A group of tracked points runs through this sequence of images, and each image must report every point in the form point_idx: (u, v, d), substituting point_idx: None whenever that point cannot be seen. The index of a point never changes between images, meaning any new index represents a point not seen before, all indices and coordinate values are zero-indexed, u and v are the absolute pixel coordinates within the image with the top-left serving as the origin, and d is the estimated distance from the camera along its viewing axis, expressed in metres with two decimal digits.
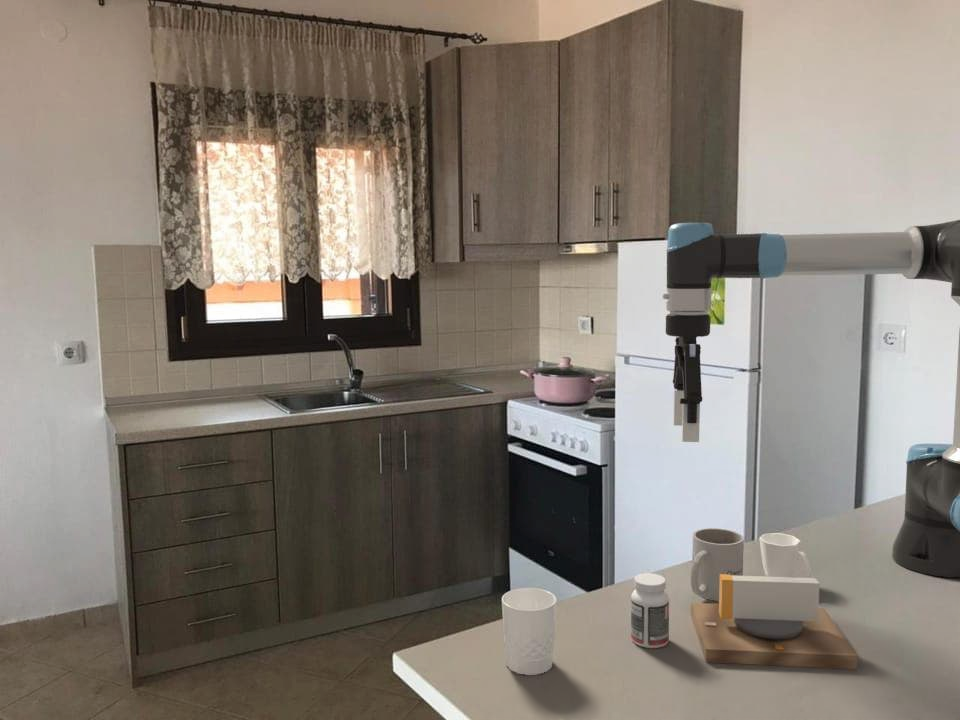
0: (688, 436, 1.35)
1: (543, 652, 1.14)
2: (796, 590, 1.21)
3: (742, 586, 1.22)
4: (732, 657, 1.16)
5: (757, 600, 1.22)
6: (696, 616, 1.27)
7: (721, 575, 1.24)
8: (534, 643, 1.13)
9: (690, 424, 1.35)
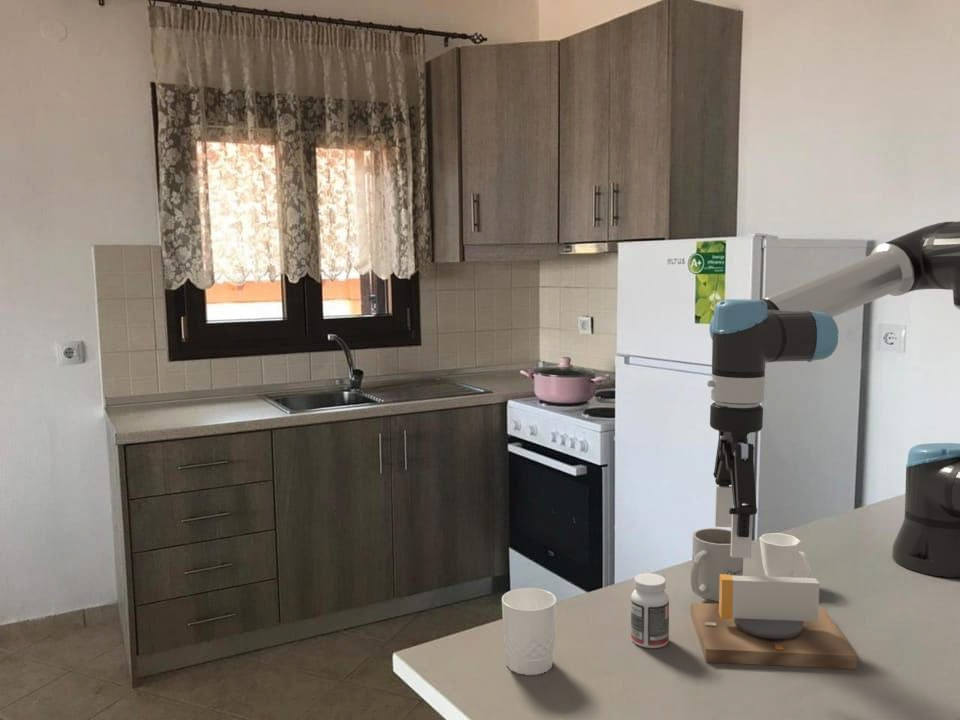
0: (738, 551, 1.15)
1: (543, 652, 1.14)
2: (796, 590, 1.21)
3: (742, 586, 1.22)
4: (732, 657, 1.16)
5: (757, 600, 1.22)
6: (696, 616, 1.27)
7: (721, 575, 1.24)
8: (534, 643, 1.13)
9: (741, 537, 1.15)
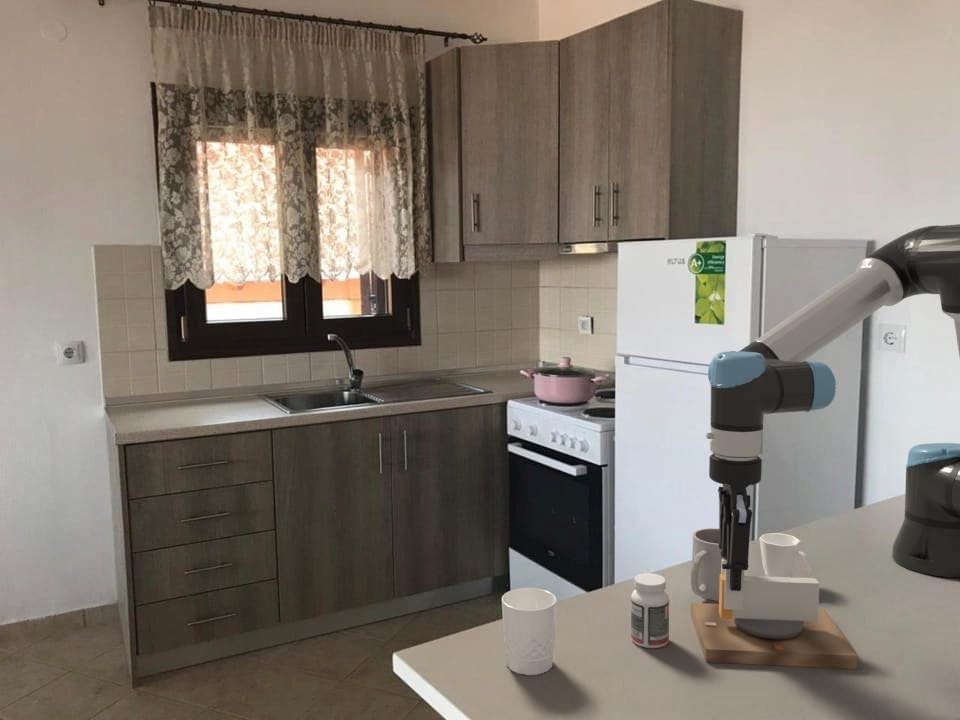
0: (731, 603, 1.22)
1: (543, 652, 1.14)
2: (796, 590, 1.21)
3: None
4: (732, 657, 1.16)
5: (757, 600, 1.22)
6: (696, 616, 1.27)
7: (721, 575, 1.24)
8: (534, 643, 1.13)
9: (733, 590, 1.21)
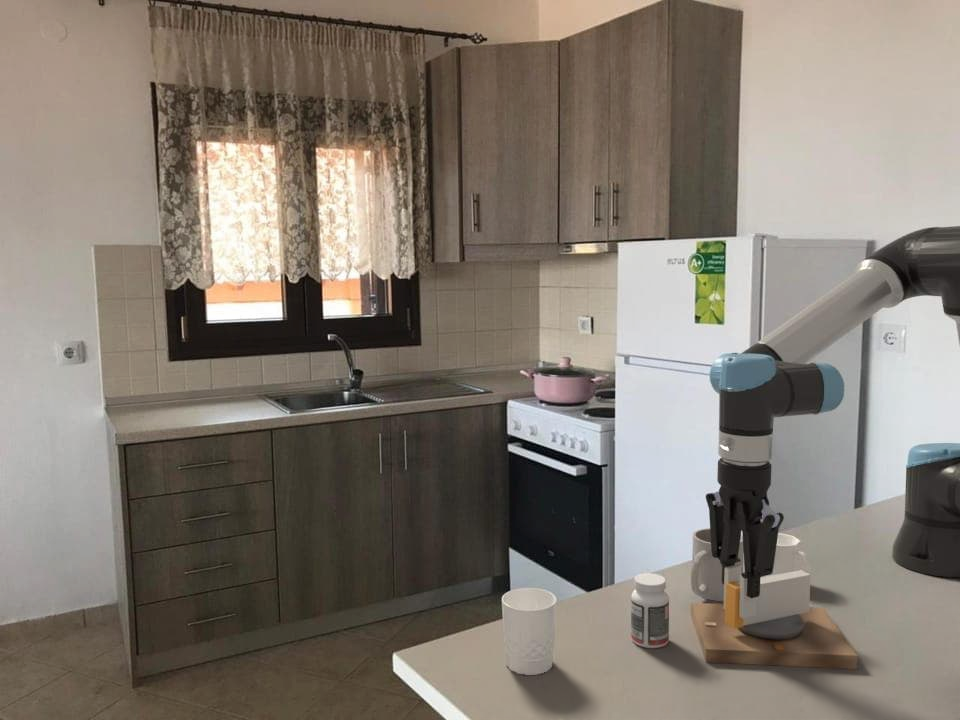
0: (747, 611, 1.19)
1: (543, 652, 1.14)
2: (793, 585, 1.23)
3: None
4: (732, 657, 1.16)
5: (763, 602, 1.21)
6: (696, 616, 1.27)
7: (728, 584, 1.21)
8: (534, 643, 1.13)
9: (749, 597, 1.19)
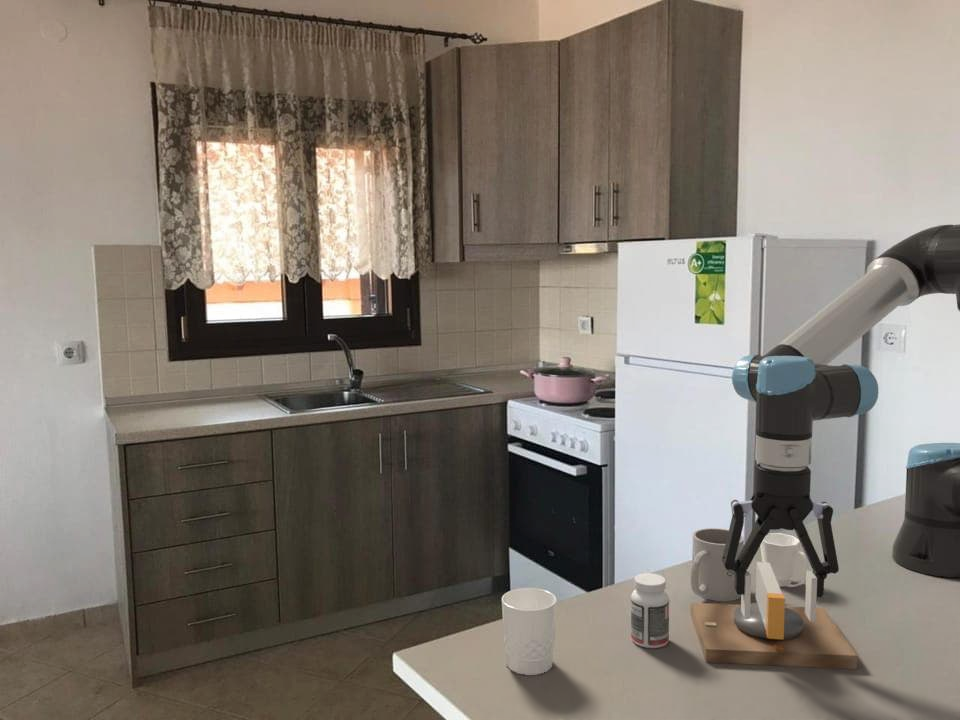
0: None
1: (543, 652, 1.14)
2: None
3: None
4: (732, 657, 1.16)
5: None
6: (696, 616, 1.27)
7: (772, 597, 1.16)
8: (534, 643, 1.13)
9: None
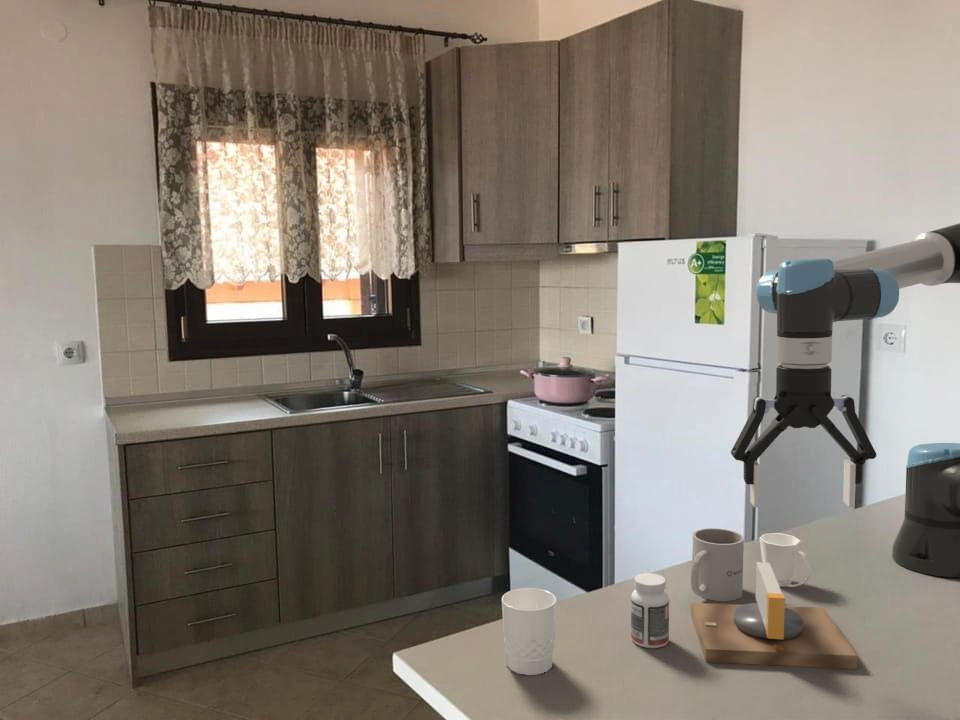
0: None
1: (543, 652, 1.14)
2: None
3: None
4: (732, 657, 1.16)
5: None
6: (696, 616, 1.27)
7: (772, 597, 1.16)
8: (534, 643, 1.13)
9: None
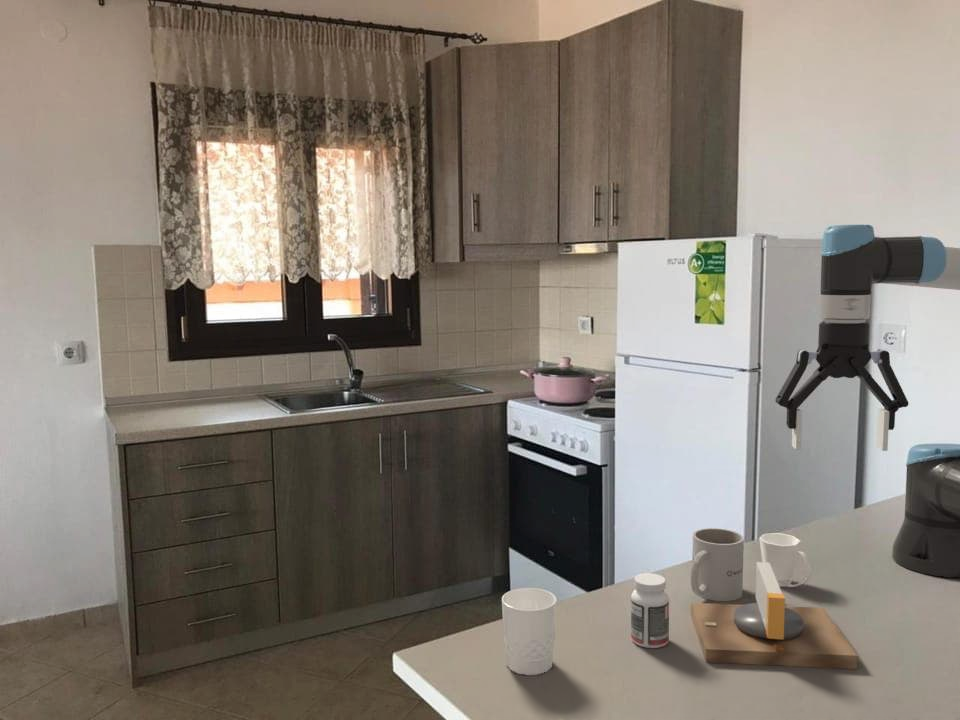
0: None
1: (543, 652, 1.14)
2: None
3: None
4: (732, 657, 1.16)
5: None
6: (696, 616, 1.27)
7: (772, 597, 1.16)
8: (534, 643, 1.13)
9: None
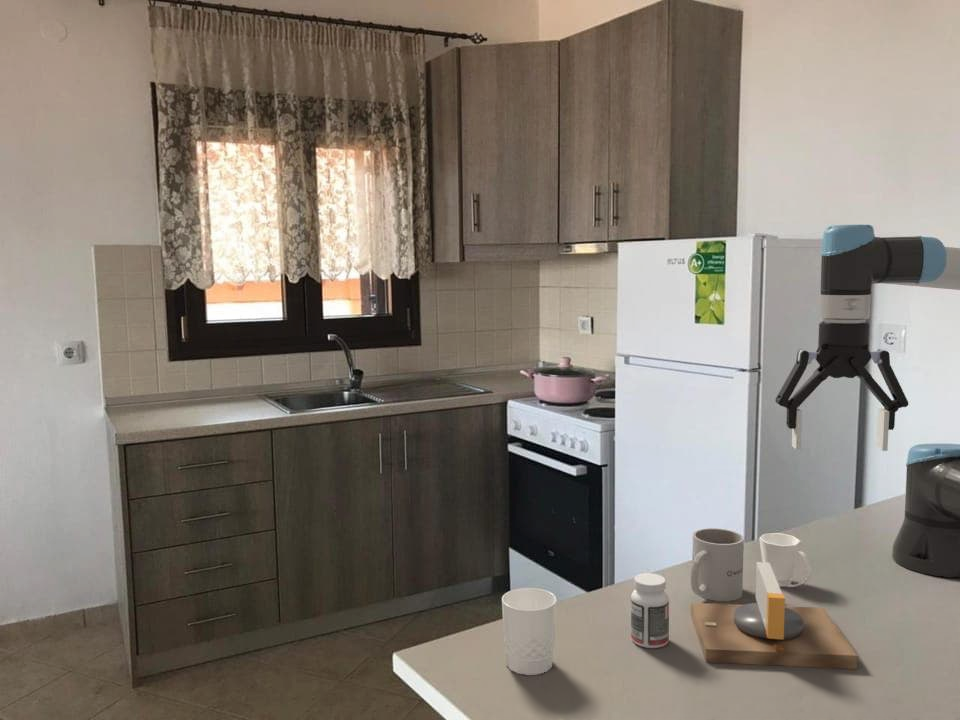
0: None
1: (543, 652, 1.14)
2: None
3: None
4: (732, 657, 1.16)
5: None
6: (696, 616, 1.27)
7: (772, 597, 1.16)
8: (534, 643, 1.13)
9: None
